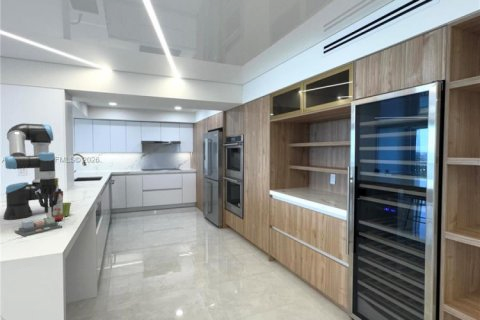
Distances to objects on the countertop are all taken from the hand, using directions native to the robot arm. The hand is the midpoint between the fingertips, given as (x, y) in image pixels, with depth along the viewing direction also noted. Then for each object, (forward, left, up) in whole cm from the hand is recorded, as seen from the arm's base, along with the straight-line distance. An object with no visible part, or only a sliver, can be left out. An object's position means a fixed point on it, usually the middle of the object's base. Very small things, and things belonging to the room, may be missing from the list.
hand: (49, 217), depth 152 cm
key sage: (0, 0, -4) cm, 4 cm away
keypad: (0, -5, -6) cm, 8 cm away
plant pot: (-22, +18, -6) cm, 29 cm away
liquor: (-13, +10, -6) cm, 18 cm away
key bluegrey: (0, -10, -3) cm, 11 cm away
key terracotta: (0, -5, -5) cm, 7 cm away
